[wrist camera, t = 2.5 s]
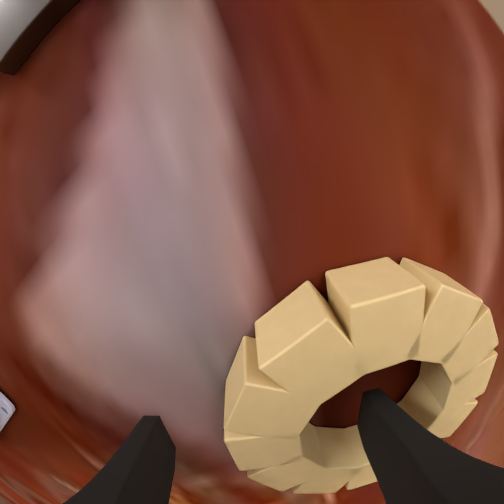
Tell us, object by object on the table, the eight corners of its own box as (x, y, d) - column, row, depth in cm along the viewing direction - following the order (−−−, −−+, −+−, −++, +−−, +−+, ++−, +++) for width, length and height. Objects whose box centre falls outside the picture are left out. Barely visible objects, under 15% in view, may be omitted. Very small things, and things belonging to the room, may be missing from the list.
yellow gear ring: (322, 473, 13) (330, 507, 10) (170, 382, 10) (158, 430, 8) (481, 361, 11) (507, 387, 9) (404, 193, 8) (450, 206, 6)
